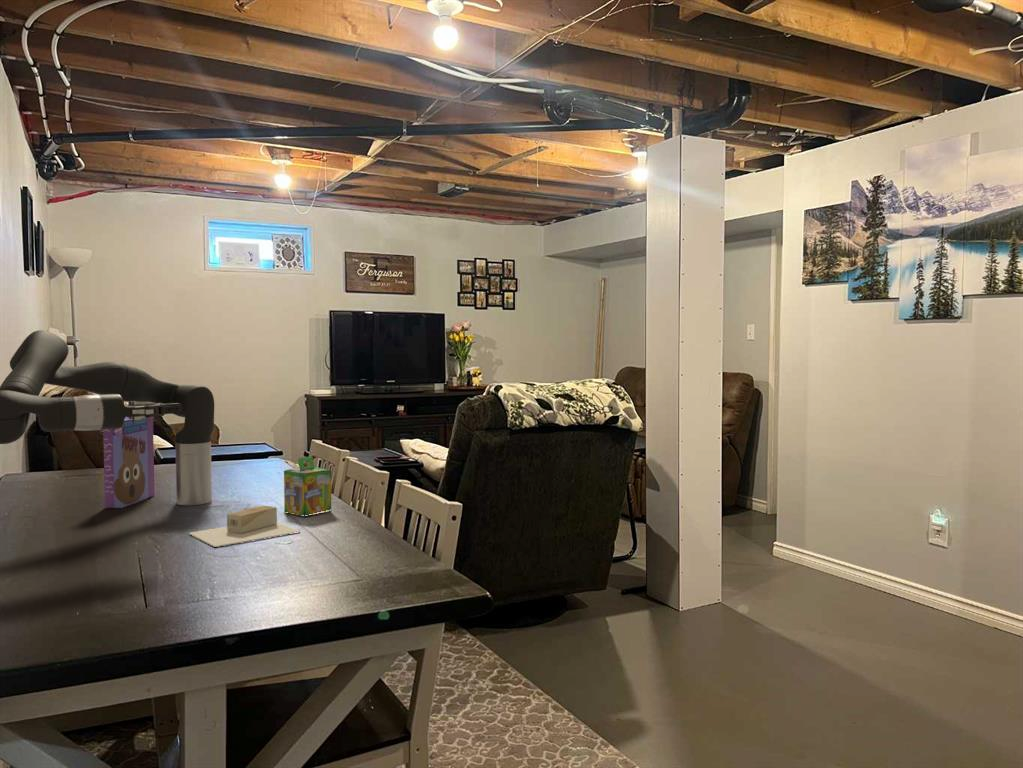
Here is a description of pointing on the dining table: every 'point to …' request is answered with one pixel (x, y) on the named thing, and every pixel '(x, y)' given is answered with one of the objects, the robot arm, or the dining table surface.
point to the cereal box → (129, 463)
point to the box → (251, 519)
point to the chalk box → (307, 489)
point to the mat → (240, 535)
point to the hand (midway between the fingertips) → (180, 408)
